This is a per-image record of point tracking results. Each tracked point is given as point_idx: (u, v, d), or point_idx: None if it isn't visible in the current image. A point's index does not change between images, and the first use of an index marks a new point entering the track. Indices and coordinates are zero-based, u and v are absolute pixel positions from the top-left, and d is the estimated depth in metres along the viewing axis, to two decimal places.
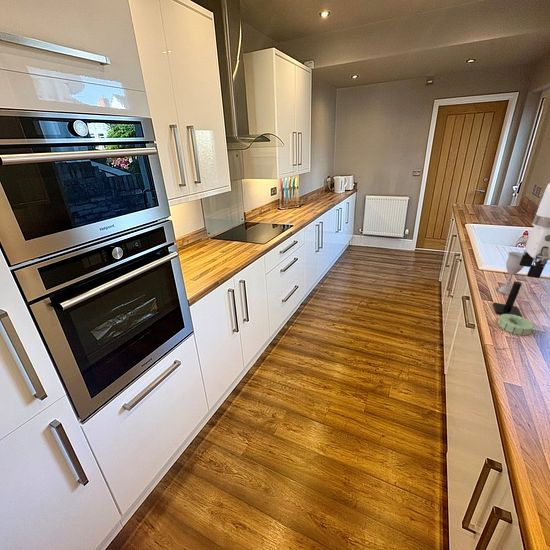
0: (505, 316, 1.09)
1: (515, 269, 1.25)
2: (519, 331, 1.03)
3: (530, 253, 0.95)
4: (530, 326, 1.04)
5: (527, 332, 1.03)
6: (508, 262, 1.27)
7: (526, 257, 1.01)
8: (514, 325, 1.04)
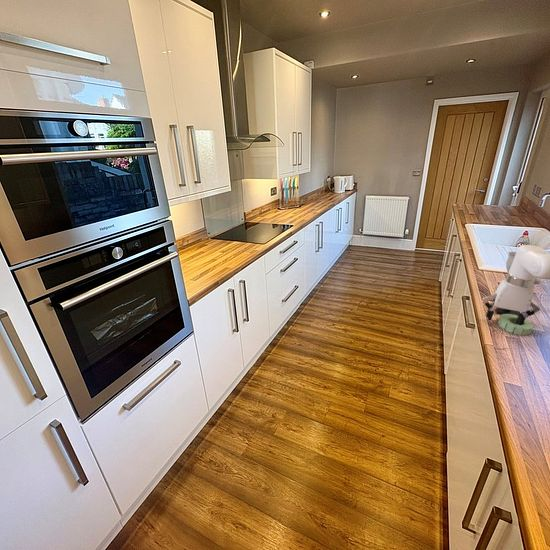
0: (505, 316, 1.09)
1: None
2: (519, 331, 1.03)
3: (518, 309, 1.03)
4: (530, 326, 1.04)
5: (527, 332, 1.03)
6: (508, 262, 1.27)
7: None
8: (514, 325, 1.04)
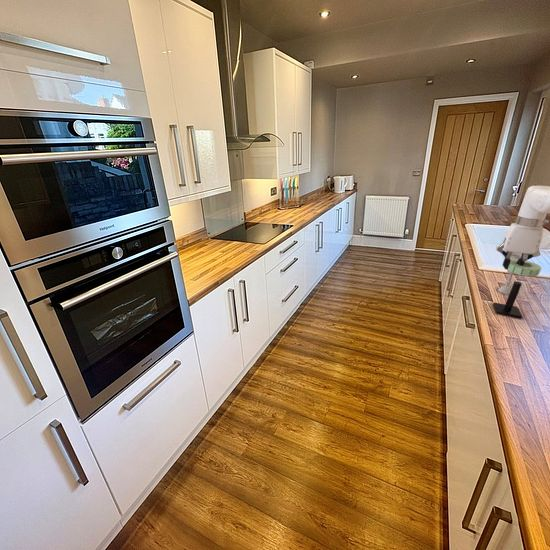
0: (513, 261, 1.12)
1: None
2: (527, 272, 1.05)
3: (527, 251, 1.05)
4: (538, 268, 1.06)
5: (535, 273, 1.05)
6: None
7: None
8: (522, 267, 1.06)
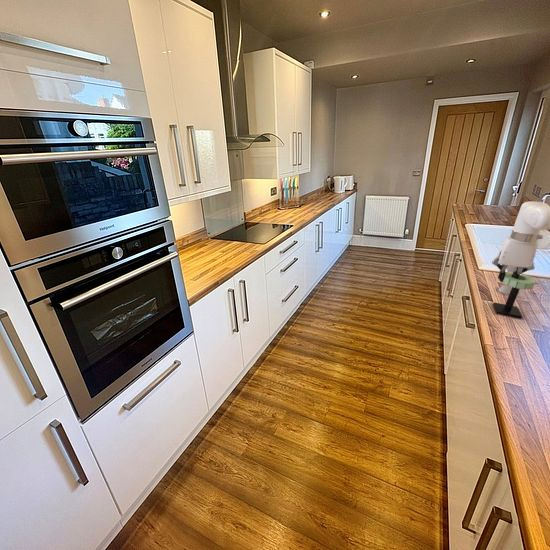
0: (508, 273, 1.14)
1: (515, 269, 1.25)
2: (522, 285, 1.08)
3: (522, 265, 1.07)
4: (532, 281, 1.08)
5: (529, 286, 1.07)
6: None
7: None
8: (517, 280, 1.09)
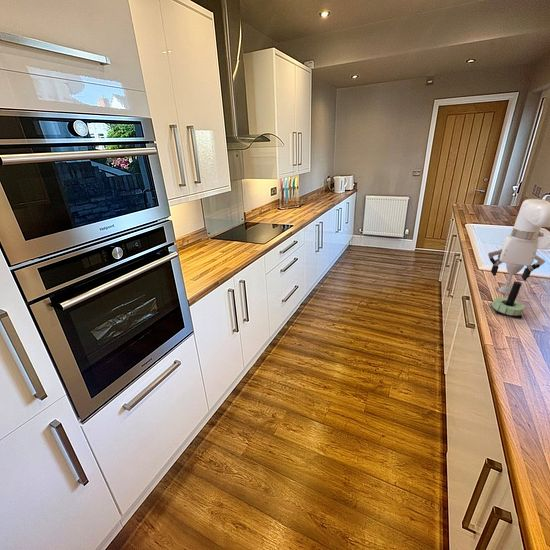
0: (499, 299, 1.19)
1: (515, 269, 1.25)
2: (511, 312, 1.13)
3: (523, 263, 1.07)
4: (521, 307, 1.13)
5: (518, 313, 1.12)
6: None
7: None
8: (506, 306, 1.14)
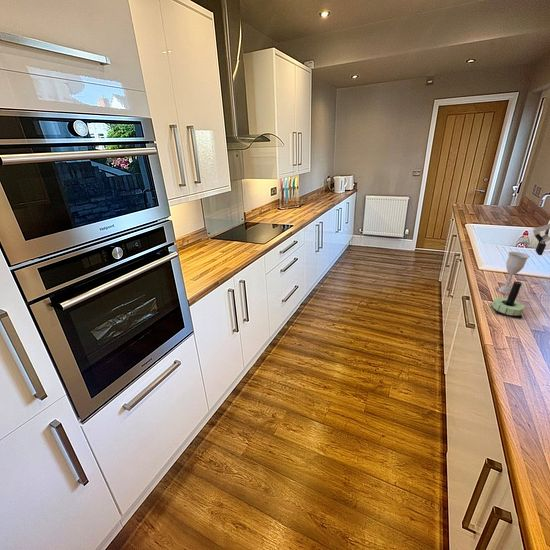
0: (499, 299, 1.19)
1: (515, 269, 1.25)
2: (511, 312, 1.13)
3: None
4: (521, 307, 1.13)
5: (518, 313, 1.12)
6: (508, 262, 1.27)
7: None
8: (506, 306, 1.14)
